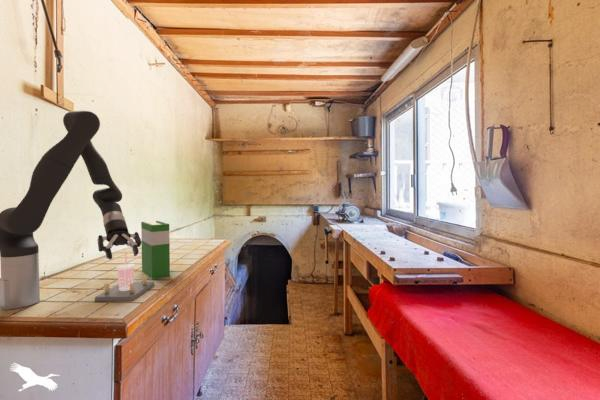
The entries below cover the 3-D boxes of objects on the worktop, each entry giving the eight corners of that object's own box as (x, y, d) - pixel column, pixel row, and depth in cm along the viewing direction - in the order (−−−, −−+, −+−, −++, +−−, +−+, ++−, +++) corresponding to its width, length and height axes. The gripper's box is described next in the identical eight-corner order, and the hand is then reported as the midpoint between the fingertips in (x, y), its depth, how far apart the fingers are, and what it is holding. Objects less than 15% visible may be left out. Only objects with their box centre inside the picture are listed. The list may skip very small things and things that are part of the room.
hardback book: (142, 270, 135) (141, 221, 135) (158, 267, 140) (157, 220, 140) (152, 279, 122) (151, 225, 122) (169, 275, 127) (169, 224, 127)
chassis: (132, 300, 98) (132, 286, 98) (94, 301, 98) (94, 287, 98) (154, 285, 114) (154, 273, 114) (121, 285, 114) (121, 273, 114)
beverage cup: (136, 285, 110) (136, 250, 110) (134, 290, 105) (133, 253, 104) (118, 287, 108) (118, 251, 107) (114, 292, 102) (114, 254, 102)
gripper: (95, 219, 108) (103, 253, 100) (136, 217, 118) (146, 248, 111) (92, 231, 111) (100, 265, 104) (132, 228, 122) (141, 259, 114)
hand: (123, 256), depth 107 cm, fingers open, 8 cm apart
